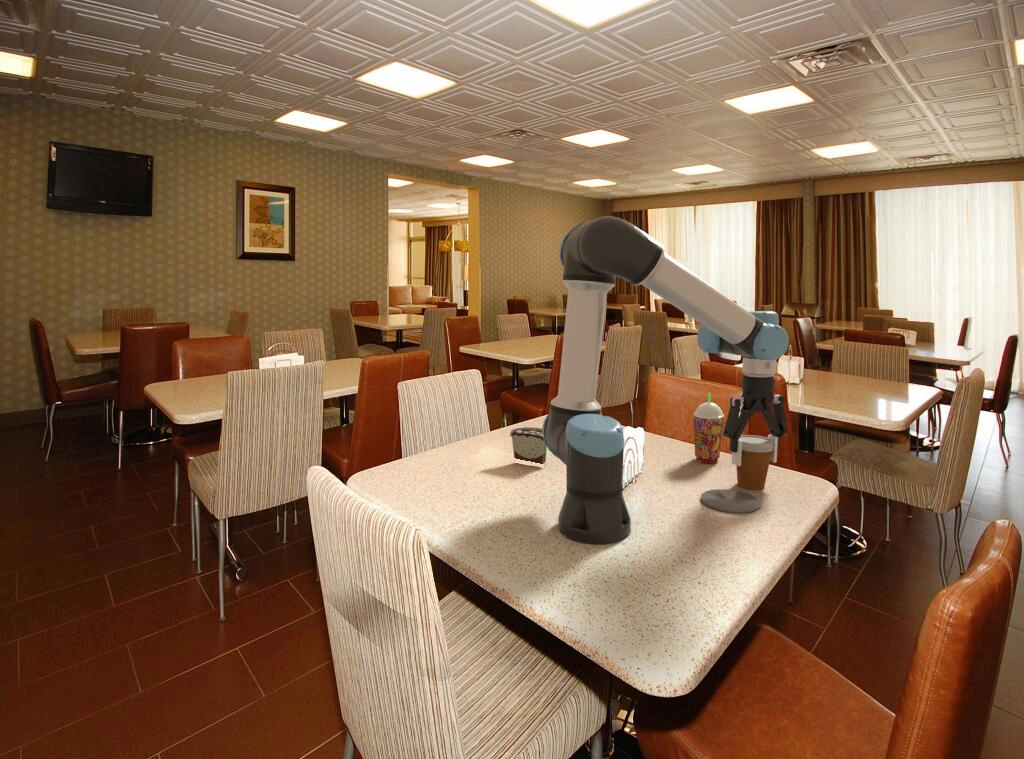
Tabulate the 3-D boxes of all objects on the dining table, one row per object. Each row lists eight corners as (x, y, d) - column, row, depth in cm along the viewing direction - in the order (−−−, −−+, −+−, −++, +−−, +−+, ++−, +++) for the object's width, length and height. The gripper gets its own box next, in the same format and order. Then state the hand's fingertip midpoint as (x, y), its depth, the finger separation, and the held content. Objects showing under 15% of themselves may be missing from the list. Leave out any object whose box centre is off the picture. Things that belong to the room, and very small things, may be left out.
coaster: (722, 515, 123) (722, 512, 123) (690, 495, 136) (690, 492, 136) (773, 509, 126) (773, 506, 126) (737, 490, 139) (737, 487, 138)
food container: (557, 463, 162) (557, 429, 161) (547, 469, 157) (547, 434, 156) (521, 457, 169) (520, 425, 167) (510, 462, 164) (509, 429, 162)
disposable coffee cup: (775, 493, 136) (779, 445, 134) (734, 490, 138) (737, 443, 136) (766, 480, 145) (769, 435, 144) (727, 477, 147) (730, 433, 145)
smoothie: (686, 457, 165) (688, 391, 162) (710, 455, 168) (712, 389, 165) (703, 466, 157) (706, 396, 154) (728, 463, 160) (731, 394, 157)
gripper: (728, 379, 131) (723, 471, 134) (808, 374, 136) (802, 463, 139) (709, 374, 138) (706, 462, 141) (786, 370, 143) (781, 454, 146)
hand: (753, 462), depth 140 cm, fingers closed on disposable coffee cup, 9 cm apart
